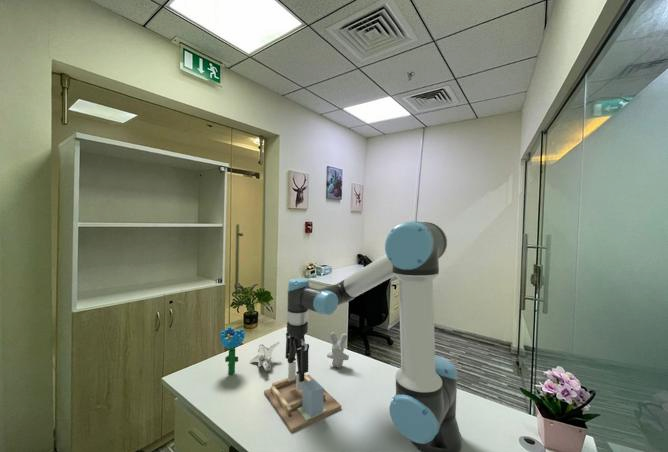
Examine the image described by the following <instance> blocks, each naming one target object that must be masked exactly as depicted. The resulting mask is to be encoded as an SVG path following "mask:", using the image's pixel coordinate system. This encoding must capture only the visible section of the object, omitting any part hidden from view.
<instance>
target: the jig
mask: <svg viewBox="0 0 668 452" xmlns="http://www.w3.org/2000/svg"><path fill="white" fill-rule="evenodd" d="M296 378H297V374H296V377H295V380H292V381H290V382H289V381H288V377H287V378H284V379H281V380H279V381H276V382H273V383H272V385H271V386H270V388H268V389H265V390H264V392H263V394H264V396H265V397H266V399H267V400H268V402H269V403H270V404H271V405H270V406H272V408H273V409H274V410H275V412H276V413H277V415H278V417H279V418H280V420H281V421H282V422H283V424H284V425H285V426H286V428H287V429H288V431H289V433H291V434H292V433H294V432H296V431H298V430H301V429H302V428H304V427H307V426H309V425H311V424H313V423H315V422H317V421H320V420H321V419H323V418H326V417H328V416H329V415H331V414H333V413H335V412H338V411H340V410H342V405H341V404H340V403H339V402H338V401H337V400H336V399H335V398H334V397H333V396H332V395H331V394H330V393H329V392H328V391H326V389H325V388H324V392H323V412H322V413H320V414H318V415H316V416H313V417H310V416H309V415H308V413H307V412H306V411H305V410H304V409H303V407H302V389H301V390H299V391H297V390H296ZM313 379H314V378H313V377H312V376H311V375H310V374H307V375H306V374H304V383H305V382H307V381H310V380H313Z"/></svg>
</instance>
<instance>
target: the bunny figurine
mask: <svg viewBox="0 0 668 452" xmlns="http://www.w3.org/2000/svg"><path fill="white" fill-rule="evenodd" d="M329 337H330V339H331V341H332V345H331V352H328V353H327V355H326V357H327V358H328V359H331V360H332V363H331V364H332V367H333V368H338V369H342V368H343V364H344V361H349V357H350V356H349V355H348V354H346V353H344V351H345V343H346V341H347V339H348V335H347V334H346V333H342V334H341V336H340V339H339V340H338V339H337V334H336V333H335V332H334V331H332V332H331V333H329Z"/></svg>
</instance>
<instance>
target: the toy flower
mask: <svg viewBox="0 0 668 452" xmlns="http://www.w3.org/2000/svg"><path fill="white" fill-rule="evenodd" d="M244 339H245V328H241V329H239V330H238V329H237V330H235V328H232V326H228V327H227V329H224V330H221V331H220V334H219V340H220V342H221V344H222V346H224V347H225V348H226V349H228V355H227V356H225V358H224V362H225V363H227V366H228V367H227V368H228V370H227V373H228V375H230V376H231V375H233V374H235V373H236V363H238V362H239V356H236V348H238V347H240V345H241V344H242V343H244Z"/></svg>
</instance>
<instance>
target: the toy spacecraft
mask: <svg viewBox="0 0 668 452" xmlns="http://www.w3.org/2000/svg"><path fill="white" fill-rule="evenodd" d="M279 344H280V341H278V342H275V343H274V344H272V345H270V347H267V346H265V345H264V344H263V343H260V344H258V349H257V352H258V354H257V355H256V356H254V357H253V358H252V359H251V360H250V361H249V364H251V363H254V362H258V365H257V366H258V368H260V367H263V368H264V371H265V372H267V371H268V372H270V371H271V370H272V353H273V351H274V349H275V348H277V346H278V345H279Z"/></svg>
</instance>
